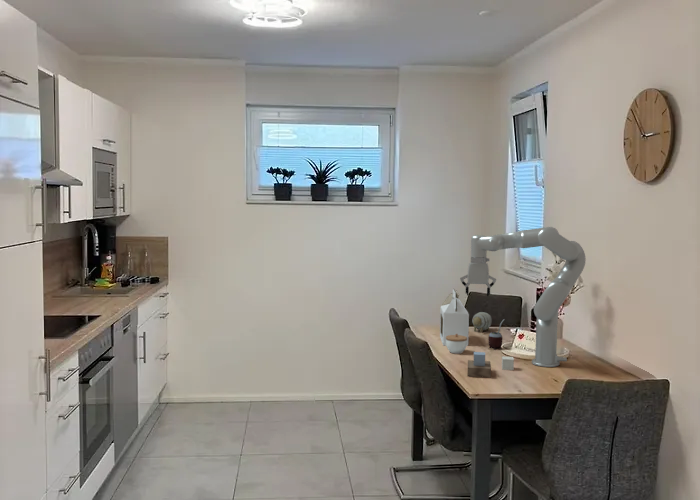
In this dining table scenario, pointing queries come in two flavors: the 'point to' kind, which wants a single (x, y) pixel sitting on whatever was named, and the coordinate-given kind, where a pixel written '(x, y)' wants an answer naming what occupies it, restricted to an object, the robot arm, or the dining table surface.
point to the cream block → (507, 363)
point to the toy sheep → (481, 321)
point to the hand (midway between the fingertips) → (477, 295)
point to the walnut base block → (479, 370)
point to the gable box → (453, 318)
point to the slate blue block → (479, 358)
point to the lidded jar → (456, 343)
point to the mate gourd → (495, 339)
